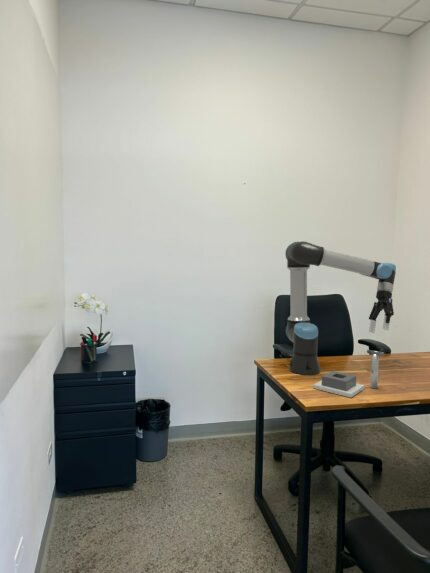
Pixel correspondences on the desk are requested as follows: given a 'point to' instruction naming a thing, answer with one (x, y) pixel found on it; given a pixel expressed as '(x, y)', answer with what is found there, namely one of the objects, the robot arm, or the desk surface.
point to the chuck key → (374, 367)
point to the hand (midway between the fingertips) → (378, 331)
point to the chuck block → (339, 384)
